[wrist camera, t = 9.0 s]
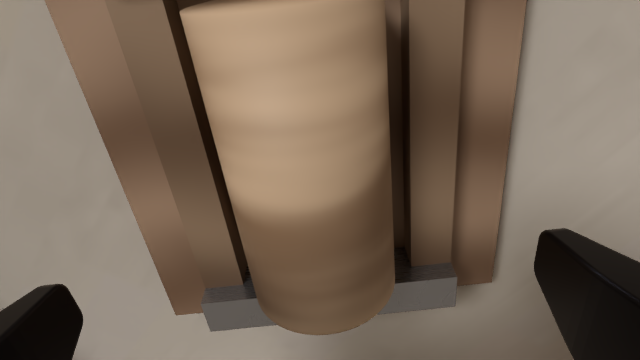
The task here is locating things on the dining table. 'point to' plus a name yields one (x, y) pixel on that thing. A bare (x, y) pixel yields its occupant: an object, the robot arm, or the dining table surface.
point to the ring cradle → (405, 145)
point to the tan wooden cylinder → (303, 150)
